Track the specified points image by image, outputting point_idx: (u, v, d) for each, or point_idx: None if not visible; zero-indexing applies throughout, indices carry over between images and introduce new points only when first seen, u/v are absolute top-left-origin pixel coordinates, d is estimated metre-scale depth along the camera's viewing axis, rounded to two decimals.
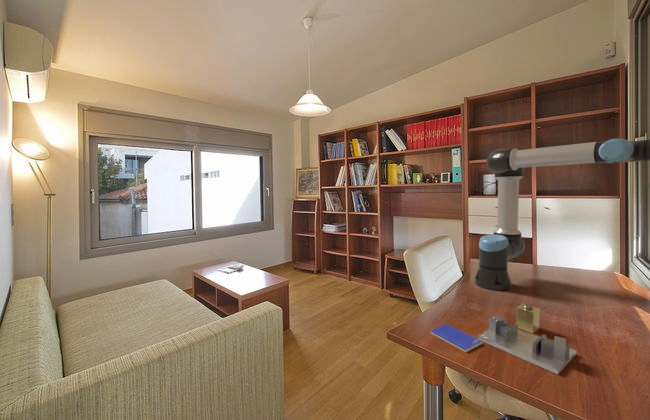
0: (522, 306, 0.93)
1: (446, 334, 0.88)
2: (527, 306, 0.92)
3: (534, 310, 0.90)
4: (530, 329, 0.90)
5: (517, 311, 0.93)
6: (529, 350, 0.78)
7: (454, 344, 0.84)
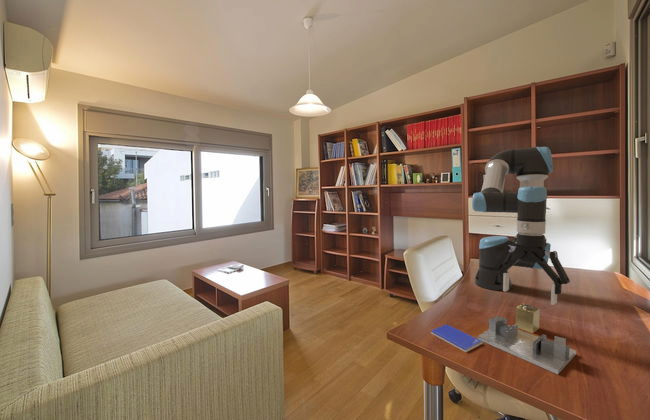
0: (522, 306, 0.93)
1: (446, 334, 0.88)
2: (527, 306, 0.92)
3: (534, 310, 0.90)
4: (530, 329, 0.90)
5: (517, 311, 0.93)
6: (529, 350, 0.78)
7: (454, 344, 0.84)
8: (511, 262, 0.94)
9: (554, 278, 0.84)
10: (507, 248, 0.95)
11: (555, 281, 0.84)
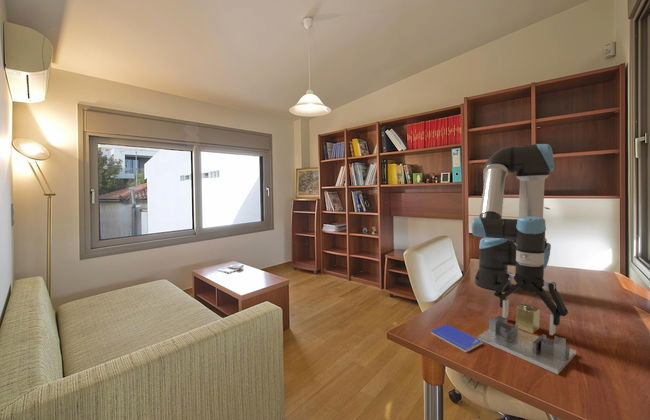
0: (522, 306, 0.93)
1: (446, 334, 0.88)
2: (527, 306, 0.92)
3: (534, 310, 0.90)
4: (530, 329, 0.90)
5: (517, 311, 0.93)
6: (529, 350, 0.78)
7: (454, 344, 0.84)
8: (510, 290, 0.95)
9: (553, 309, 0.85)
10: (506, 276, 0.96)
11: (554, 312, 0.85)
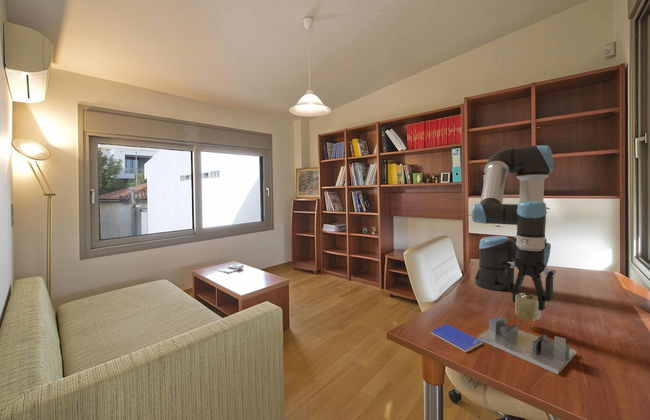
0: (522, 295, 0.93)
1: (446, 334, 0.88)
2: (527, 295, 0.92)
3: (534, 299, 0.90)
4: (530, 317, 0.90)
5: (517, 300, 0.93)
6: (529, 350, 0.78)
7: (454, 344, 0.84)
8: (517, 280, 0.93)
9: (540, 295, 0.88)
10: (508, 265, 0.95)
11: (539, 298, 0.88)
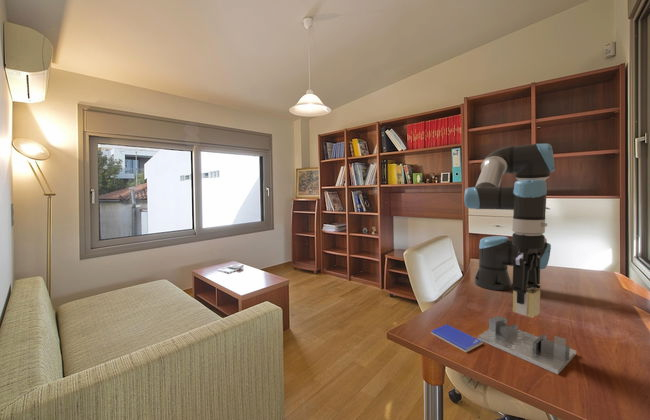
0: None
1: (446, 334, 0.88)
2: (528, 287, 0.80)
3: (531, 288, 0.81)
4: (538, 310, 0.80)
5: (533, 297, 0.77)
6: (529, 350, 0.78)
7: (454, 344, 0.84)
8: (527, 275, 0.78)
9: (536, 281, 0.81)
10: (523, 261, 0.75)
11: (536, 284, 0.81)
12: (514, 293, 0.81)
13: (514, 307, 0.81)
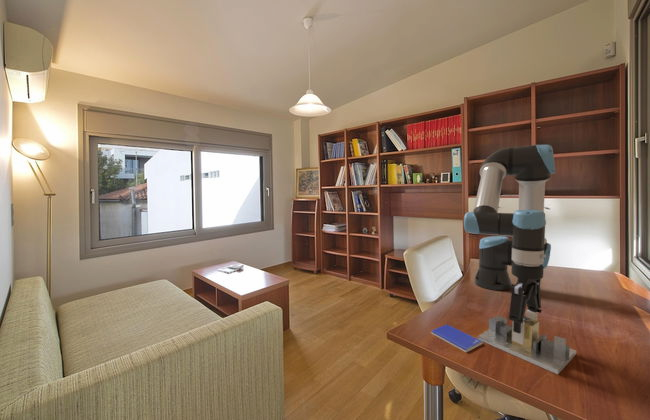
0: None
1: (446, 334, 0.88)
2: (527, 319, 0.81)
3: (530, 319, 0.82)
4: None
5: (532, 330, 0.78)
6: (529, 350, 0.78)
7: (454, 344, 0.84)
8: (525, 304, 0.78)
9: (537, 306, 0.83)
10: (522, 291, 0.76)
11: (537, 309, 0.83)
12: None
13: None
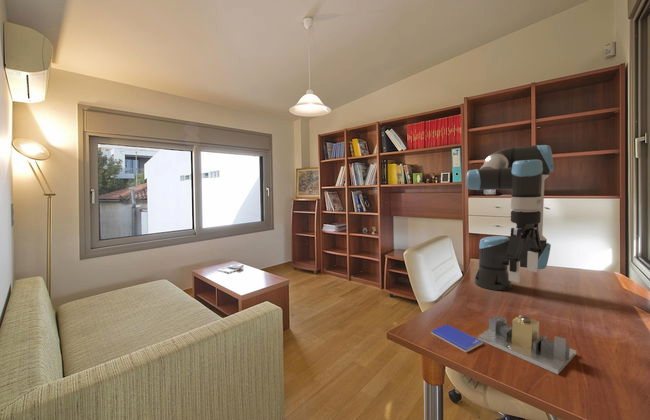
0: (524, 322, 0.80)
1: (446, 334, 0.88)
2: (527, 319, 0.81)
3: (530, 319, 0.82)
4: None
5: (532, 330, 0.78)
6: (529, 350, 0.78)
7: (454, 344, 0.84)
8: (522, 246, 0.83)
9: (537, 247, 0.90)
10: (521, 232, 0.81)
11: (537, 249, 0.90)
12: (513, 324, 0.82)
13: (513, 338, 0.82)
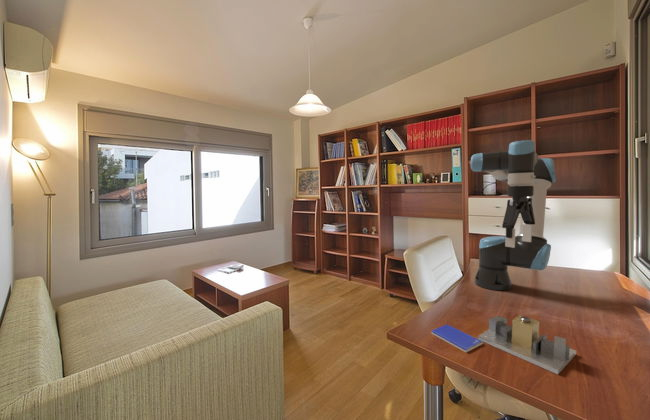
0: (524, 322, 0.80)
1: (446, 334, 0.88)
2: (527, 319, 0.81)
3: (530, 319, 0.82)
4: None
5: (532, 330, 0.78)
6: (529, 350, 0.78)
7: (454, 344, 0.83)
8: (517, 215, 0.95)
9: (531, 219, 1.01)
10: (516, 202, 0.93)
11: (531, 222, 1.02)
12: (513, 324, 0.82)
13: (513, 338, 0.82)
